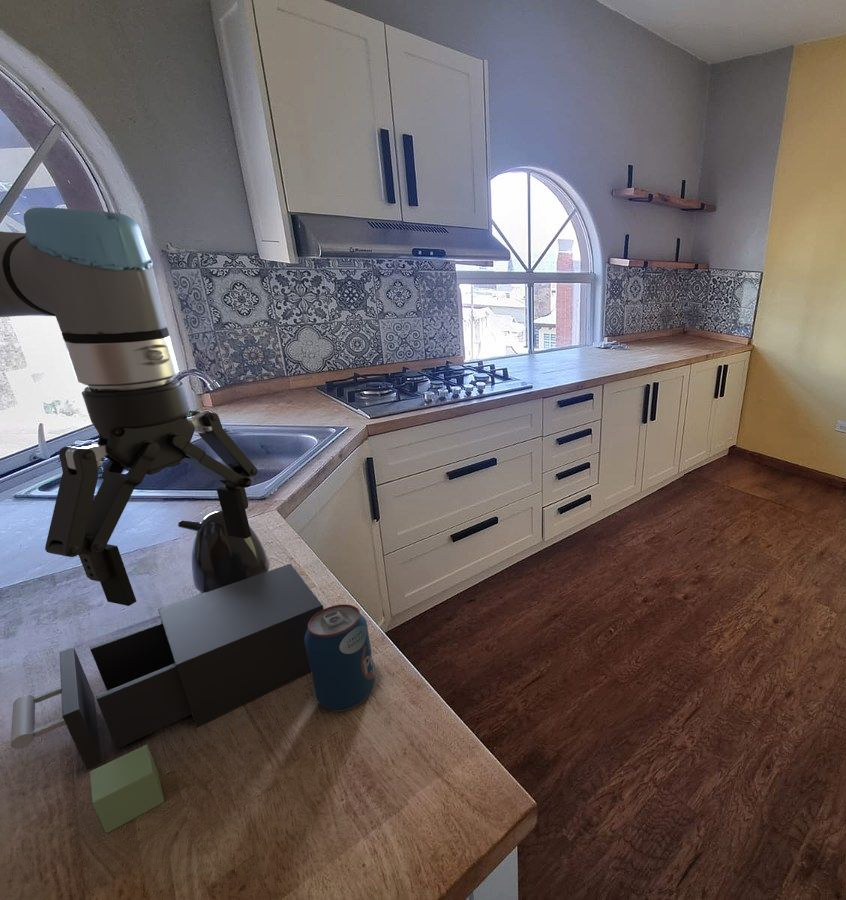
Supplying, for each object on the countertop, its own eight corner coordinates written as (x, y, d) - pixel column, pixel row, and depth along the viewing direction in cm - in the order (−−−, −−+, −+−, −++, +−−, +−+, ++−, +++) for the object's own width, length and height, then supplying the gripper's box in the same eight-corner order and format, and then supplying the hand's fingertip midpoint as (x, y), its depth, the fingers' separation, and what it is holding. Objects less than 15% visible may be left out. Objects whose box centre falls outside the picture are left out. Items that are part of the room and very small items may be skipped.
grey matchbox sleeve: (196, 728, 60) (175, 665, 57) (176, 666, 69) (157, 608, 65) (333, 660, 71) (323, 604, 67) (301, 614, 79) (290, 563, 76)
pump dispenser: (210, 581, 86) (188, 502, 81) (279, 570, 90) (262, 494, 85) (188, 618, 78) (162, 532, 72) (266, 605, 81) (246, 522, 76)
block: (103, 801, 52) (89, 771, 50) (158, 773, 55) (147, 743, 53) (106, 833, 49) (92, 802, 47) (164, 802, 52) (152, 772, 50)
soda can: (385, 695, 65) (373, 620, 61) (327, 726, 61) (311, 647, 57) (365, 665, 70) (353, 594, 66) (311, 691, 65) (294, 617, 61)
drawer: (27, 798, 51) (-2, 742, 48) (29, 723, 59) (4, 671, 56) (245, 694, 64) (232, 645, 61) (222, 644, 72) (210, 599, 69)
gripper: (-8, 420, 37) (85, 647, 45) (268, 362, 60) (299, 518, 68) (-79, 411, 39) (22, 632, 46) (217, 358, 62) (253, 511, 69)
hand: (187, 565), depth 57 cm, fingers open, 13 cm apart
